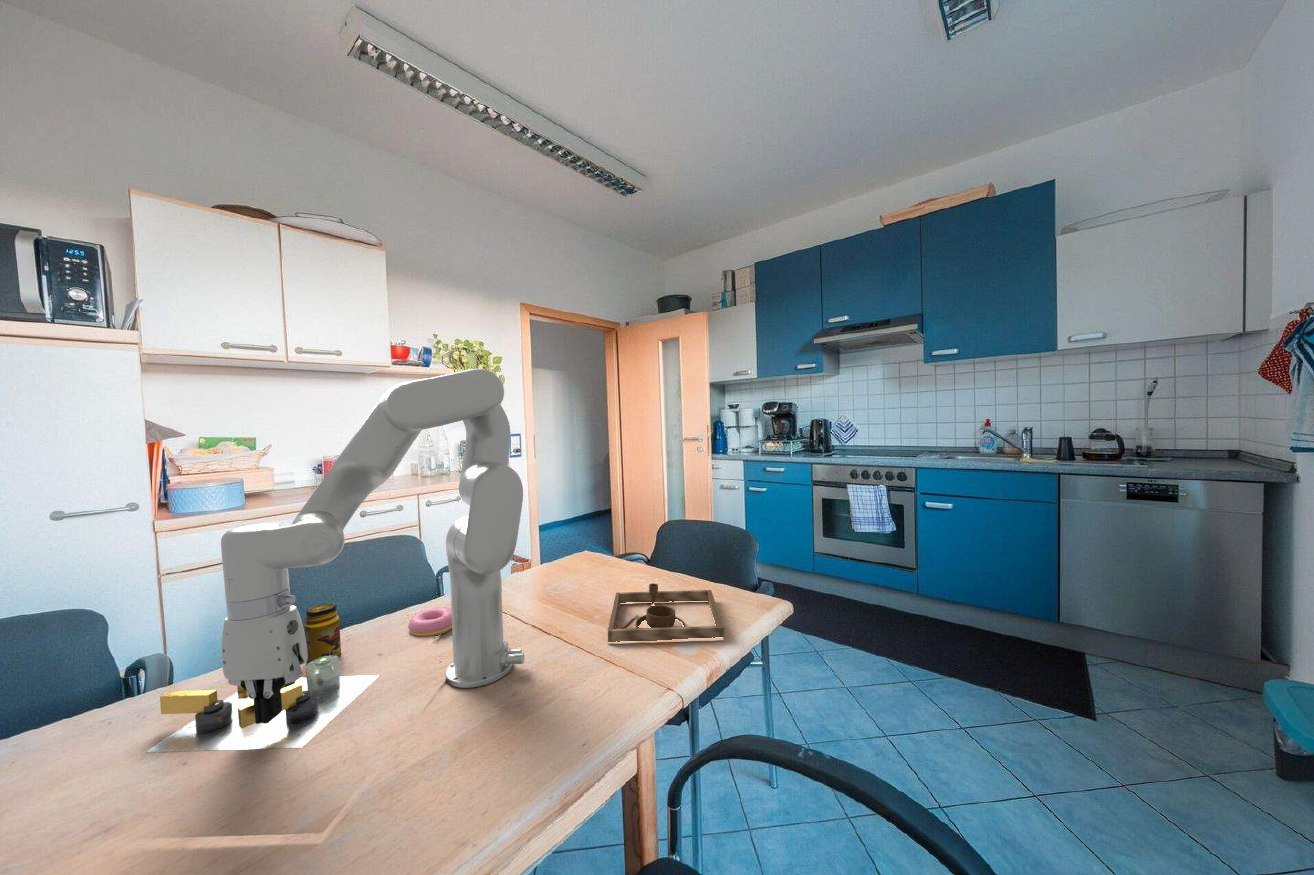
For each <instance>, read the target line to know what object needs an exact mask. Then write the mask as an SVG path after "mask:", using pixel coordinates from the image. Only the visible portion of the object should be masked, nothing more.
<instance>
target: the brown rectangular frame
mask: <svg viewBox="0 0 1314 875" xmlns="http://www.w3.org/2000/svg"><path fill="white" fill-rule="evenodd" d="M714 597H715V596H714V594H713V591H712V590H711V589H695V590H691V589H690V590H689V589H688V590H663V591H659V590H658V593H657V595H655V598H654V599H655V602H669V601H672V602H674V601H708V602H709V603H708V602H707V603H708V606H709V605H710V607H709V609H710V608H711V610H710V612H711V611H712V613H711V615H712V614H713V617H714V620H715V623H714V625H708V626H707V625H705V626H704V625H702V626H699V625H698V626H685V627H682V626H676V627H675V626H672V627H665V628H636V627H633V628H624V629H622V628H616V629H615V626H616V627H617V623H616V621H617V622H618V618H617V616H619V612H618V610H619V611H620V607H619V605H620V603H626V602H651V599H652V595H650V594H649V591H629V592H628V591H625V592H621V591H620V592H615V595H614V601H613V605H612V610H611V615H610V620H609V623H608V627H607V628H608V629H607V643H608V642H616V641H617V642H620V641H657V640H672V639H688V638H712V637H713V638H715V637H724V638H725V626H724V624H723V621H722V617H721V615H720V612H719V609H718V606H717V603H716V599H715V598H714ZM620 606H621V605H620ZM713 617H712V618H713ZM714 620H713V621H714ZM715 624H716V626H715Z"/></svg>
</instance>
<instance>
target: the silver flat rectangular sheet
mask: <svg viewBox="0 0 1314 875" xmlns="http://www.w3.org/2000/svg"><path fill="white" fill-rule="evenodd" d="M305 670H306V676H305V677H301V678H299V679H298V680H297V681H295V683H298V682H300V683H301V684H302V689H303V691H310V693H316V694H317V695H318V711H317V712H316V713H315V714H314V715H313V716H311V717H310V718H307V719H305V720H302V721H299V722H293V723H290V722H287V721H286V715H285V710H283V711H281V713H279V714H278V715H277V716H276V717H274V718H273V719H272V720H271V721H270V722H268V723H261V724H256V723H254V724H251V725H249V726H247V727H245V728H241V727H240V726H239V721H238V707H239V706H241V705H244V704H246V703H249V702H251V701H254V699H250V698H249V697H248V698H247V699H238V691H237V692H235V693H233V694H231V696H229V697H227V698H225V699H224V700H223V701H224V702H230V703H232V714H233V719H232V721H231V722H230V723H228V724H227V725H225V726H224V727H222V728H219V729H217V730H214V731H211V732H207V733H197V732H196V722H195V719H194V720H192V721H190V722H189V723H188V724H186V725H185V726H183V727H181V728H180V729H178V730H177V731H175V732H174V733H172V734H170V735H169V736H167V737H166V738H164V739H162V740H161V741H159V743H157V744H155V745H153V746H152V747H151V748H149V749H148V750H146V751H144V753H173V752H175V753H176V752H177V753H179V752H180V753H181V752H204V751H205V752H206V751H207V752H210V751H235V750H236V751H237V750H239V751H240V750H241V751H243V750H270V749H271V750H272V749H300V748H303V747H305V746H306V744H308V742H310V741H311V740H312V739H313V738H314V737H315V736H316V735H317V734H318V733H319V732H321V731H322V729H324V728H325V727H326V726H327V725H328V724H329V723H330V722H331V721H332V720H333V719H334V718H335V717H337V716H338V715H339V714H340V713H341V712H342V711H343V710H344V709H345V708H346V707H347V706H348V705H350V703H352V702H353V701H354V700H355V699H356V698H357V697H358V696H359V695H361V693H362V692H363V691H365V690H366V689H367V688H368V687H369V686H370V685H371V684H372V683H373V682H374V681H375V680H377V678H379V677H380V676H381V675H379V674H377V675H374V674H373V675H351V676H350V675H349V676H347V675H344V676H341V673H340V672H341V670H340V657H338V656H323V657H320V658H318V659H316V660H313V661H312V662H310V663H309V664H307V663H306V667H305ZM295 683H294V684H295Z"/></svg>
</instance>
